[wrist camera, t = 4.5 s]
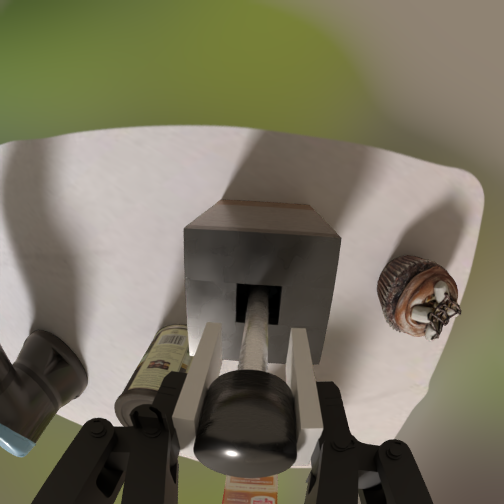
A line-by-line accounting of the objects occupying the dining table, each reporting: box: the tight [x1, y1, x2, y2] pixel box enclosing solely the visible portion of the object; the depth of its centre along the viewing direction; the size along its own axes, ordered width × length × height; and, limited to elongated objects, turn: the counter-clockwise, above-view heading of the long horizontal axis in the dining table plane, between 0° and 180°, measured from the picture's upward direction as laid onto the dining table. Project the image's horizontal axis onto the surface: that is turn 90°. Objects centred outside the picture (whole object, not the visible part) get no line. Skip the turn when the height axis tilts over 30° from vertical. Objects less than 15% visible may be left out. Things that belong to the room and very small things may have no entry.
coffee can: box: [115, 325, 194, 427], centre depth 32 cm, size 10×10×14 cm
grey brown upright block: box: [184, 200, 341, 364], centre depth 26 cm, size 10×10×15 cm
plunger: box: [193, 283, 297, 478], centre depth 18 cm, size 7×7×20 cm
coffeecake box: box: [222, 474, 278, 504], centre depth 34 cm, size 15×7×20 cm, turn 178°
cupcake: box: [377, 255, 461, 342], centre depth 29 cm, size 10×10×10 cm
